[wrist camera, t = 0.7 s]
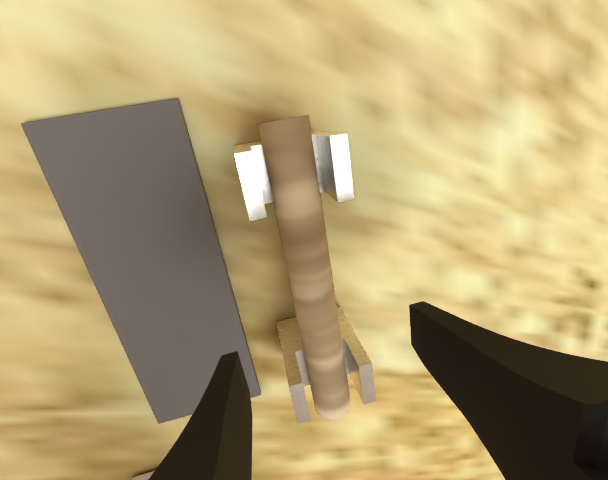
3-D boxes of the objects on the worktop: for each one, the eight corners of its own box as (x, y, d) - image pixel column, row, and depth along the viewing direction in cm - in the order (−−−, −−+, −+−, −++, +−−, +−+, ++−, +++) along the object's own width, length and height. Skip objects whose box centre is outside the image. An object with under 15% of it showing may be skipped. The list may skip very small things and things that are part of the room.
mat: (260, 390, 26) (260, 394, 25) (159, 418, 25) (158, 423, 24) (178, 99, 18) (177, 98, 18) (26, 123, 17) (20, 123, 17)
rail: (344, 386, 22) (355, 414, 20) (311, 395, 22) (319, 425, 20) (303, 115, 16) (313, 114, 14) (256, 124, 16) (259, 123, 13)
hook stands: (343, 336, 26) (375, 400, 20) (283, 353, 25) (297, 424, 19) (314, 131, 20) (347, 133, 14) (235, 145, 19) (234, 154, 13)
